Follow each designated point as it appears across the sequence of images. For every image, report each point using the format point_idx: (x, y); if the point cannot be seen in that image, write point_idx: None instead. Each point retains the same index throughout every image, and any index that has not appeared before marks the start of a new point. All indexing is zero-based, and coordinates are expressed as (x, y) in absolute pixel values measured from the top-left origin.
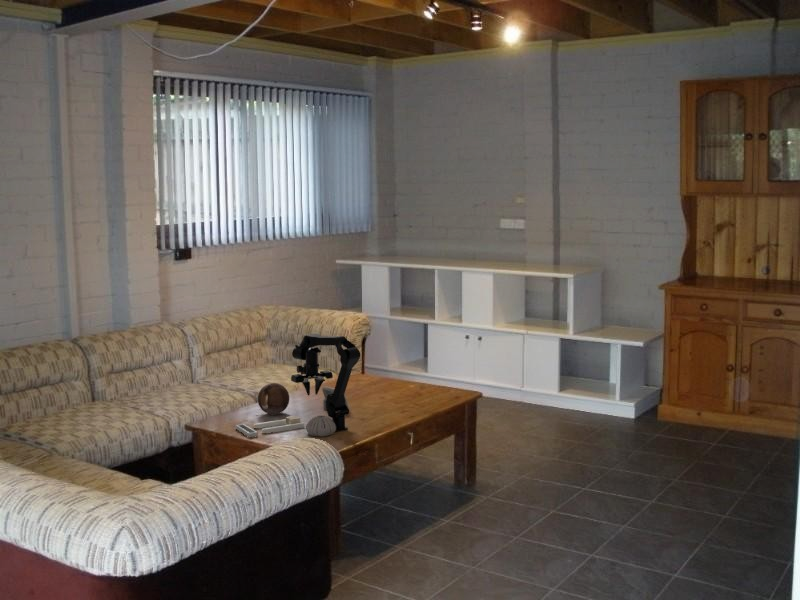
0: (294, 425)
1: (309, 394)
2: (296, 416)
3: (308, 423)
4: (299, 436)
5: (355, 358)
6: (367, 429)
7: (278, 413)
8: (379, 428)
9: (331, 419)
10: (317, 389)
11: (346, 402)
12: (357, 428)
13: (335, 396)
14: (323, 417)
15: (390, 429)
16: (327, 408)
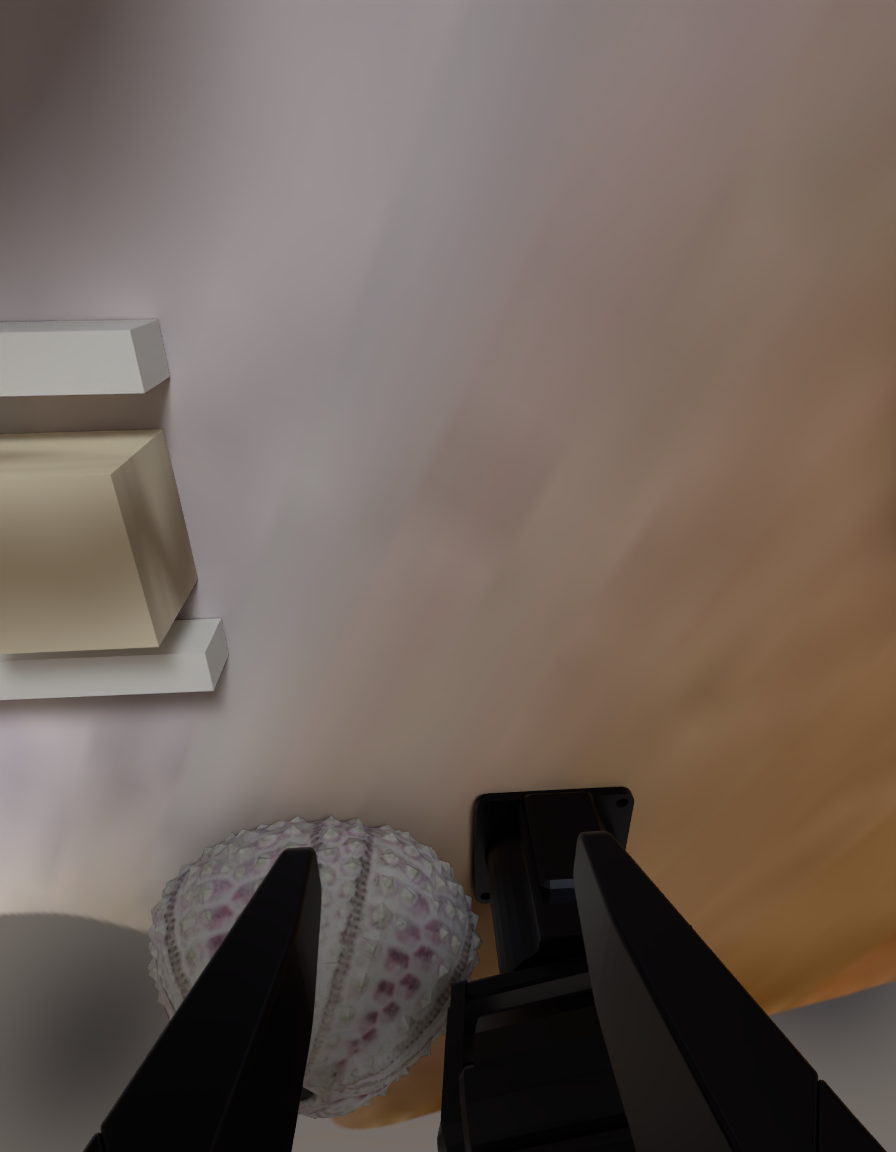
0: (66, 690)
1: (315, 939)
2: (112, 543)
3: (162, 984)
4: (89, 886)
5: None
6: (744, 932)
7: None
8: (839, 944)
9: (429, 1049)
10: (632, 1125)
11: None
12: (700, 886)
13: None
14: (315, 1115)
15: (877, 985)
16: (440, 1123)
